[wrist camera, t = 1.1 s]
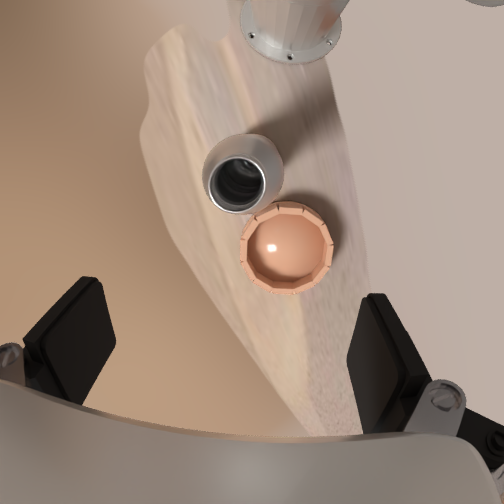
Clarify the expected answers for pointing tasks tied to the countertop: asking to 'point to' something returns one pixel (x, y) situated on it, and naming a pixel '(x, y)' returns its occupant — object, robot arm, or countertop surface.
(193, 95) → the countertop surface
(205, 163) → the plastic bottle
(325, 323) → the countertop surface
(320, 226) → the round tray
